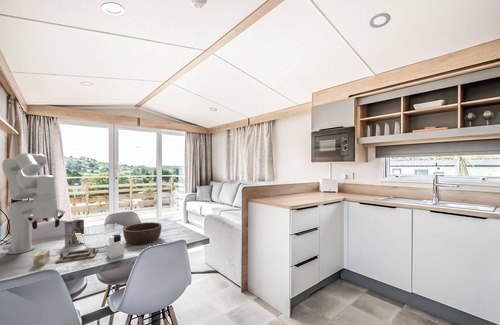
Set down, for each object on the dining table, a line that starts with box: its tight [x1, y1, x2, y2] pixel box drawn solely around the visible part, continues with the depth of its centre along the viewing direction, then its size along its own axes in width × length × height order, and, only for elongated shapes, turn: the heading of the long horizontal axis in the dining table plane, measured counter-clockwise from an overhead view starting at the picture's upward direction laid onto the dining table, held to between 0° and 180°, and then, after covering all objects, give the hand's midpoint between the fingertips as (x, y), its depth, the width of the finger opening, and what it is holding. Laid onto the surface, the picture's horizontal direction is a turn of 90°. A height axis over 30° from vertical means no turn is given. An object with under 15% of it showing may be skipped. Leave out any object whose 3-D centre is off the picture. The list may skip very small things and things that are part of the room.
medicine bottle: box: [105, 234, 125, 259], centre depth 140 cm, size 7×7×12 cm
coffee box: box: [64, 219, 85, 247], centre depth 162 cm, size 9×6×16 cm
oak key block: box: [32, 249, 51, 268], centre depth 130 cm, size 4×8×6 cm, turn 24°
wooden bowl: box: [122, 221, 162, 246], centre depth 167 cm, size 25×25×10 cm
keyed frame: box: [54, 247, 99, 264], centre depth 139 cm, size 18×13×4 cm
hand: (46, 227), depth 132 cm, fingers open, 9 cm apart
